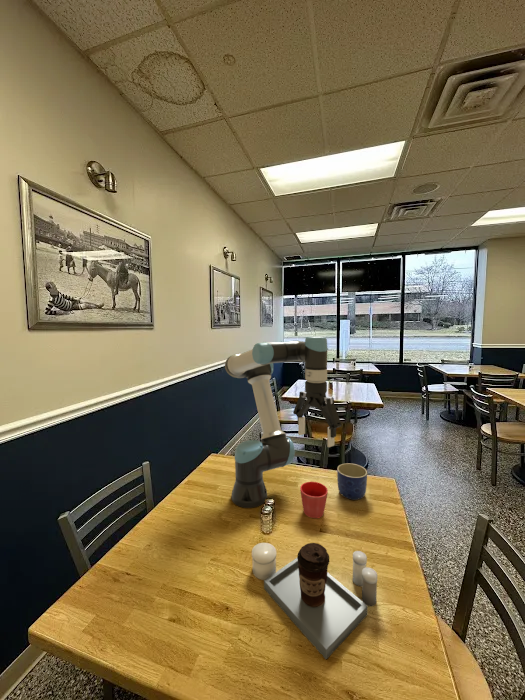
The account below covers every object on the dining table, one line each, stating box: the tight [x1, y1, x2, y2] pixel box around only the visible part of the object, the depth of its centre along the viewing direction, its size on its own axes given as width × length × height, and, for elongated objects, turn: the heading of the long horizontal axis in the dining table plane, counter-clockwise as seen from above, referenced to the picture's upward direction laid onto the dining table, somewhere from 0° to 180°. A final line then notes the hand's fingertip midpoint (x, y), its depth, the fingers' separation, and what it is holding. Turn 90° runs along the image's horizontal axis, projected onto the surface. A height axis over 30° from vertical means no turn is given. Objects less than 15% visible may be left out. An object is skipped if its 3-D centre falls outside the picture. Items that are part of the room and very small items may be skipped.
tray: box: [263, 557, 369, 660], centre depth 77 cm, size 22×16×2 cm
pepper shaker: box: [361, 566, 378, 607], centre depth 77 cm, size 4×4×8 cm
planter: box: [336, 462, 368, 501], centre depth 125 cm, size 12×12×11 cm
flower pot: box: [299, 481, 329, 519], centre depth 114 cm, size 11×11×10 cm
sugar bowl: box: [251, 542, 277, 581], centre depth 87 cm, size 7×7×6 cm
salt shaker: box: [352, 550, 368, 587], centre depth 83 cm, size 4×4×8 cm
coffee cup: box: [296, 542, 330, 607], centre depth 77 cm, size 9×8×13 cm
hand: (315, 439), depth 103 cm, fingers open, 13 cm apart
